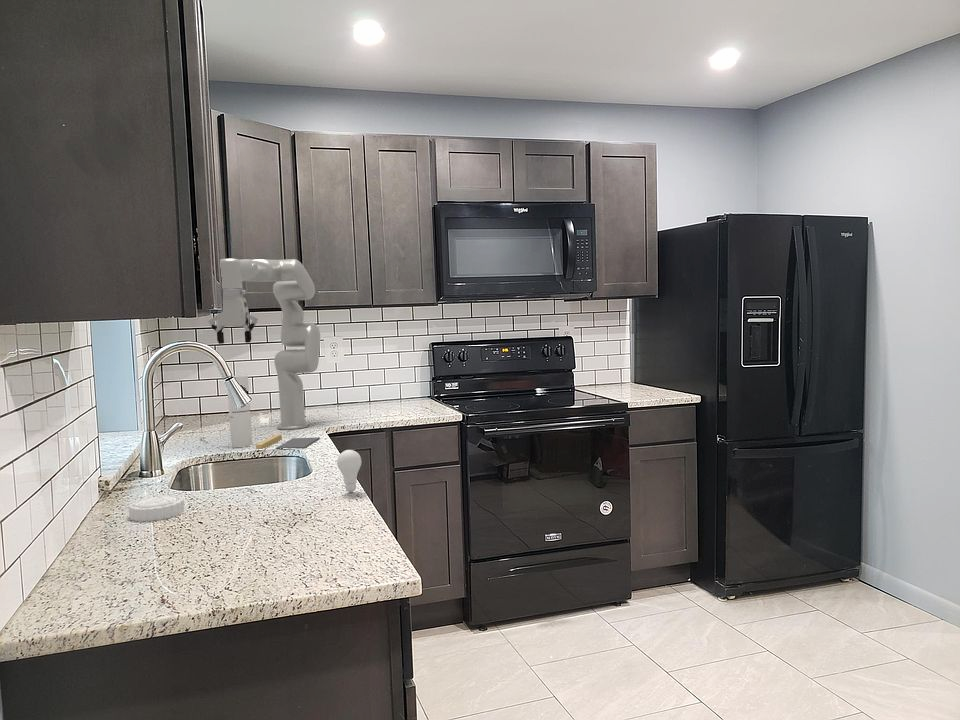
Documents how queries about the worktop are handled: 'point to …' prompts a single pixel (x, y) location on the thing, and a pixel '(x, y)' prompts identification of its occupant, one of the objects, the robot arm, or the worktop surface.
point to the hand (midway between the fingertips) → (234, 343)
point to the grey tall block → (240, 419)
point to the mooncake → (156, 508)
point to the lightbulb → (349, 468)
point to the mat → (298, 443)
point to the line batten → (269, 441)
